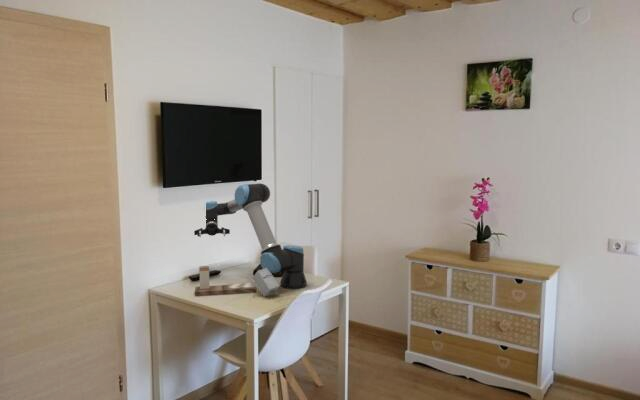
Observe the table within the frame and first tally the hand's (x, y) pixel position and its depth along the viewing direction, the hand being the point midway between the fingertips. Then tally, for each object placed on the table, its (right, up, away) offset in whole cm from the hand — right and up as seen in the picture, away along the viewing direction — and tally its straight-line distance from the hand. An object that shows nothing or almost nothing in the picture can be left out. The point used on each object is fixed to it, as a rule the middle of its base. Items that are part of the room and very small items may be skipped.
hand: (212, 234), depth 291 cm
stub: (-1, -28, -13) cm, 31 cm away
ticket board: (+10, -31, -10) cm, 34 cm away
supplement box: (+36, -29, -19) cm, 50 cm away
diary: (+31, -27, +34) cm, 53 cm away
